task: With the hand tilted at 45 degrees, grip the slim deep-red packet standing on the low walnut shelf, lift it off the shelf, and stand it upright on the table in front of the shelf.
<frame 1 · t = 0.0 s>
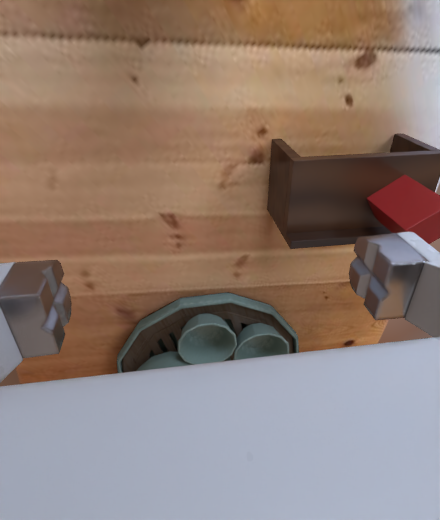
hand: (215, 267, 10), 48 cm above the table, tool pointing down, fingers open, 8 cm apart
packet: (389, 196, 53), point 11 cm above the table, touching shelf
tea set: (209, 358, 82), on the table
shelf: (332, 172, 61), on the table
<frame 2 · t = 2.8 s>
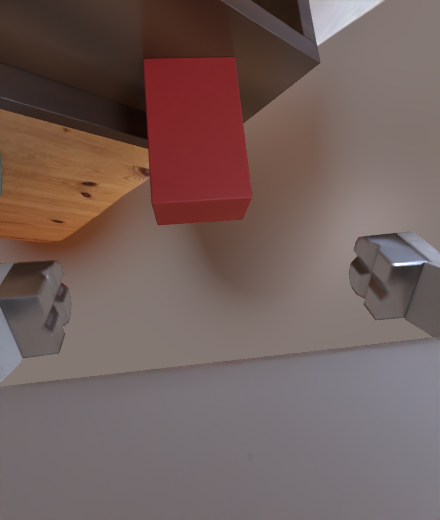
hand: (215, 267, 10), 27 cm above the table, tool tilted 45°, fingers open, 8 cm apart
packet: (189, 78, 26), point 11 cm above the table, touching shelf
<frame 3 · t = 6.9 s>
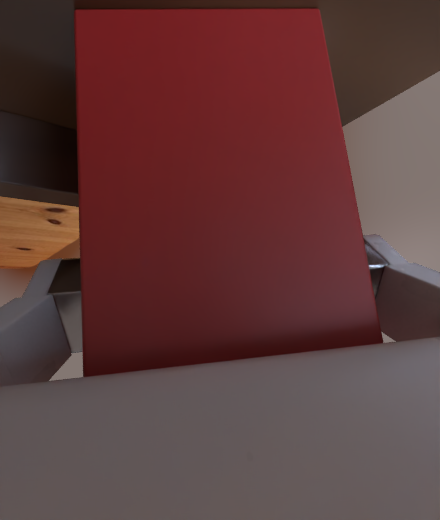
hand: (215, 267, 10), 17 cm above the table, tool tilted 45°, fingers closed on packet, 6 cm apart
packet: (198, 67, 11), point 11 cm above the table, touching gripper, shelf
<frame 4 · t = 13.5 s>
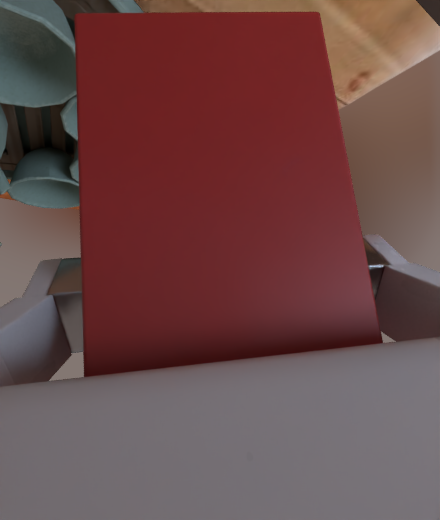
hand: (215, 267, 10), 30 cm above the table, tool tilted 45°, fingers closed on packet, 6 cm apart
packet: (198, 70, 11), point 24 cm above the table, touching gripper
tea set: (1, 74, 41), on the table
when the fingers open (6 cm above the table, at t = 20.2 s): packet stays where it is, on the table.
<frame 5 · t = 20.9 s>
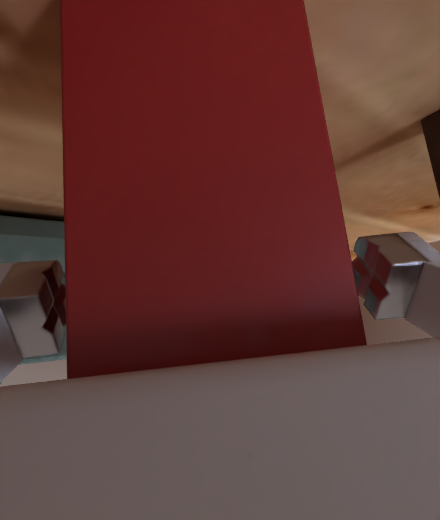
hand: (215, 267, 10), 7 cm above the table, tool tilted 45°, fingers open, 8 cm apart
packet: (185, 50, 11), on the table
tea set: (0, 271, 36), on the table
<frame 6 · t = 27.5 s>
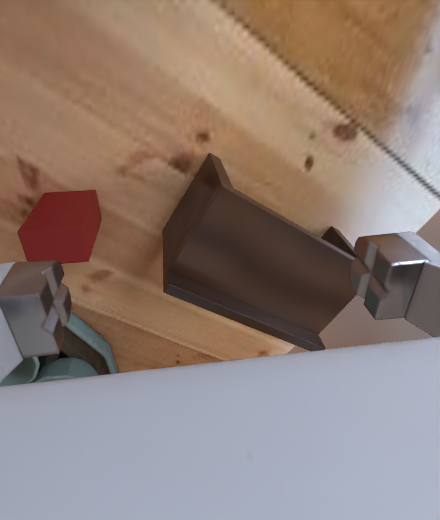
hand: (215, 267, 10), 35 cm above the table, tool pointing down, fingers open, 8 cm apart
packet: (74, 206, 45), on the table
shelf: (254, 230, 50), on the table
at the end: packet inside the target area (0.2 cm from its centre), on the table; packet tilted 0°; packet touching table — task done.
